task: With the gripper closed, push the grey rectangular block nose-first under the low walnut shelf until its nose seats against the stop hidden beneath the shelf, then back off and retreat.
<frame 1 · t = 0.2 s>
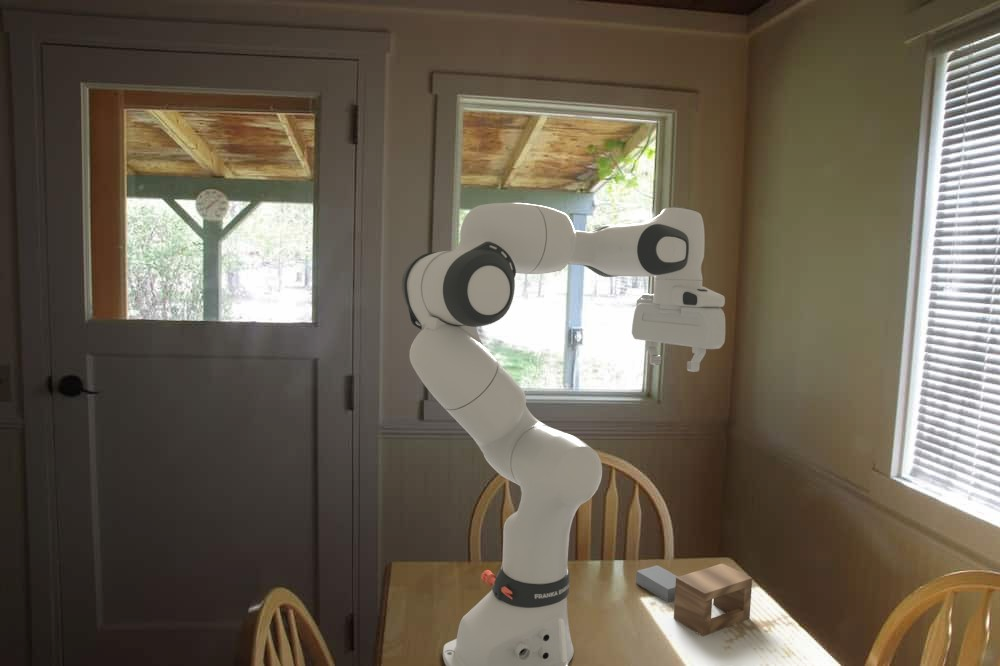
hand: (673, 367, 123), 47 cm above the table, tool pointing down, fingers open, 8 cm apart
shelf: (711, 618, 122), on the table
grey rectangular block: (661, 590, 133), on the table
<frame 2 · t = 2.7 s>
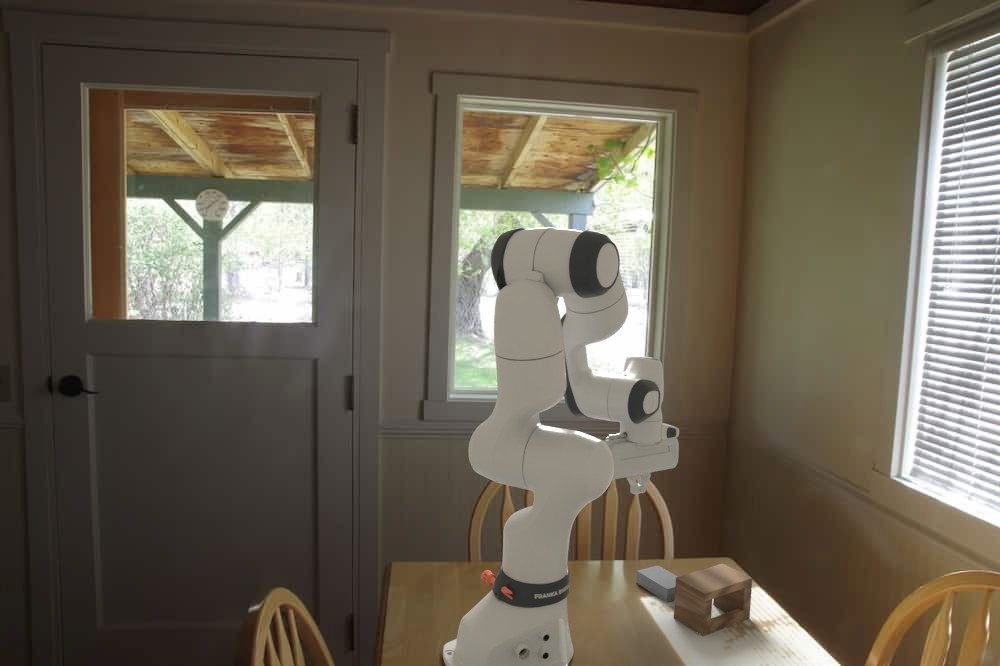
hand: (637, 492, 139), 18 cm above the table, tool pointing down, fingers closed
nothing on the table moved.
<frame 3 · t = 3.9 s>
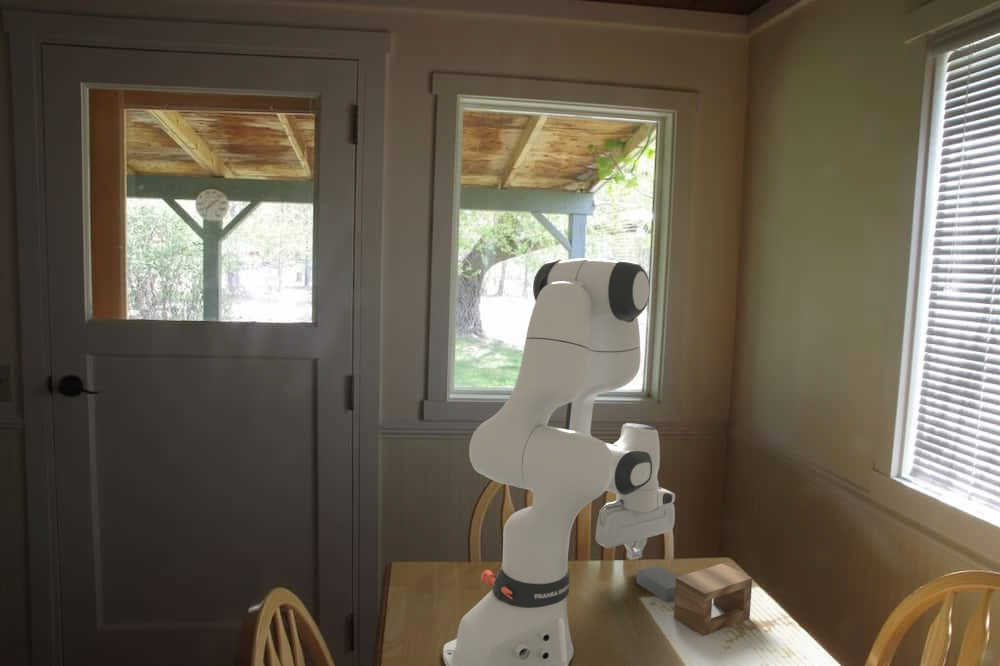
hand: (634, 557, 141), 3 cm above the table, tool pointing down, fingers closed
nothing on the table moved.
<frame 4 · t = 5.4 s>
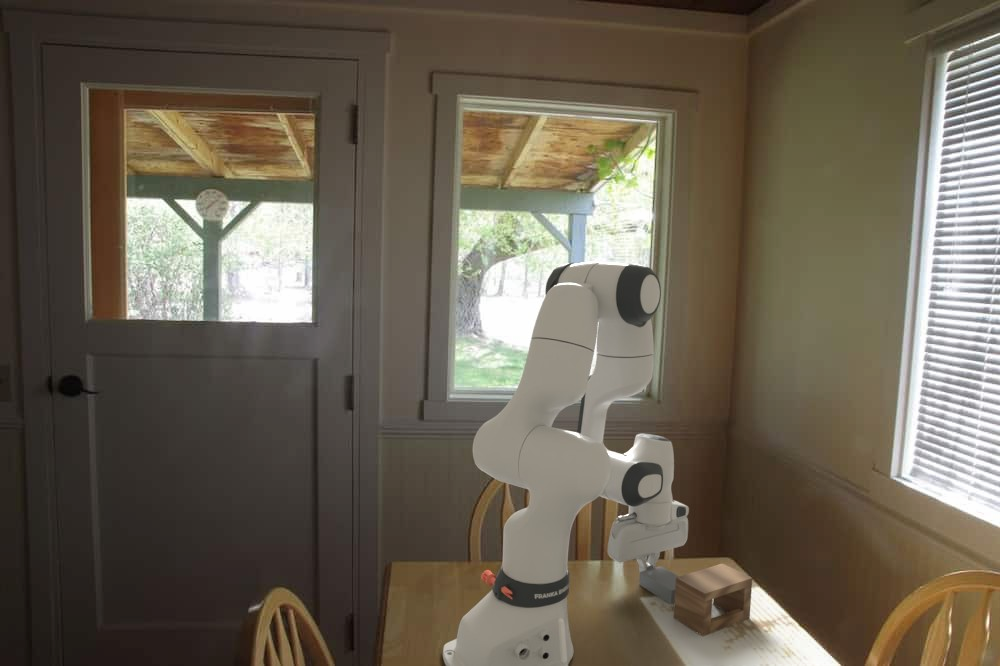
hand: (646, 572, 137), 2 cm above the table, tool pointing down, fingers closed
grey rectangular block: (665, 591, 133), on the table, touching gripper
everything else where it was.
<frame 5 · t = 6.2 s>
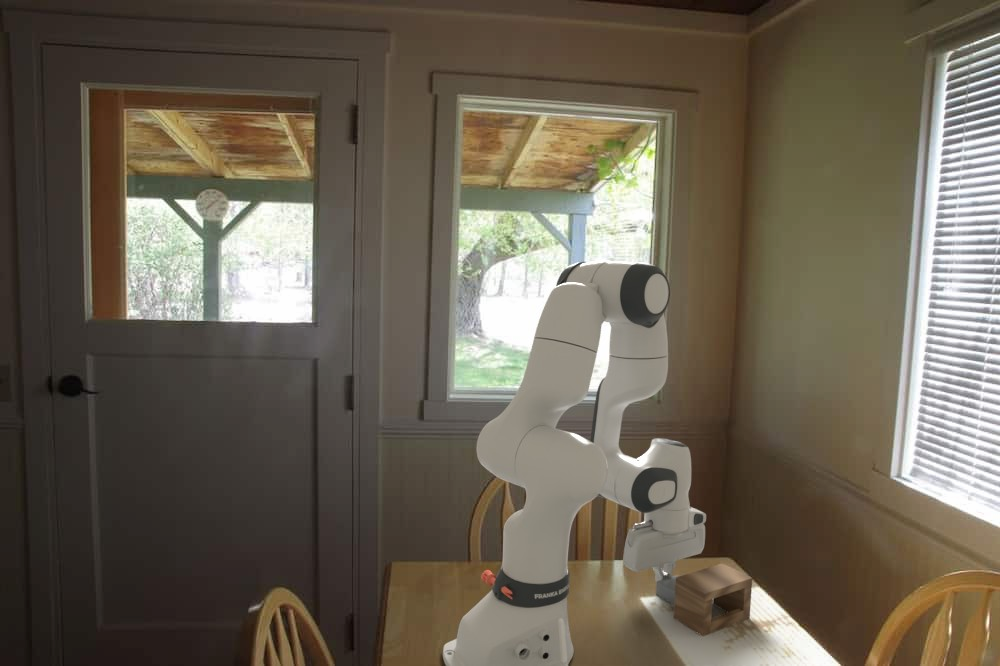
hand: (662, 581, 133), 2 cm above the table, tool pointing down, fingers closed, pressing on grey rectangular block
grey rectangular block: (683, 601, 129), on the table, touching gripper
everything else where it was.
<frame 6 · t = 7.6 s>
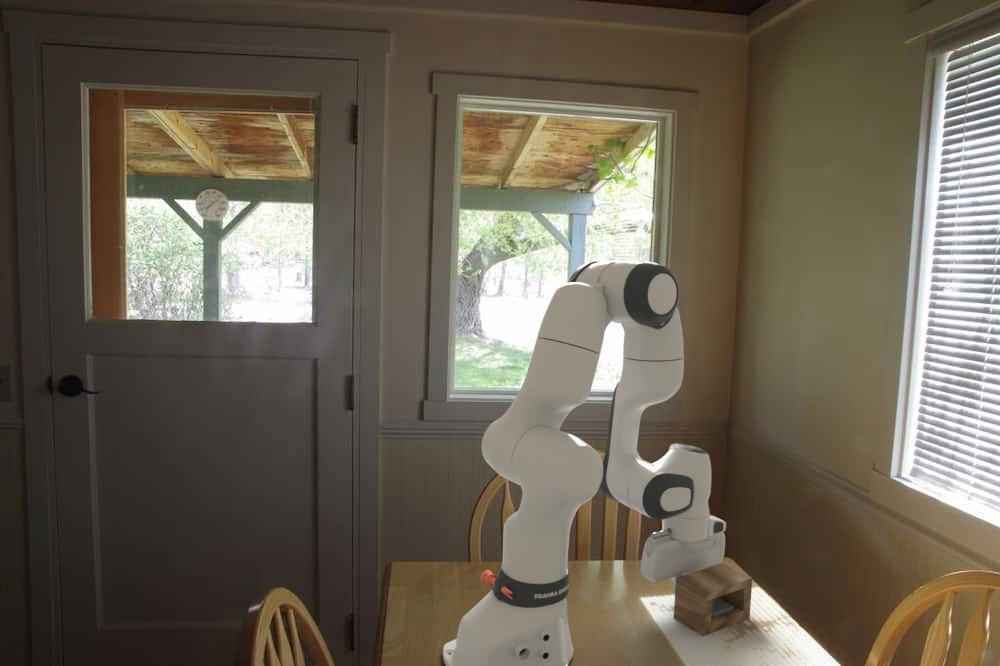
hand: (681, 591, 129), 2 cm above the table, tool pointing down, fingers closed
grey rectangular block: (703, 614, 125), on the table
everything else where it was.
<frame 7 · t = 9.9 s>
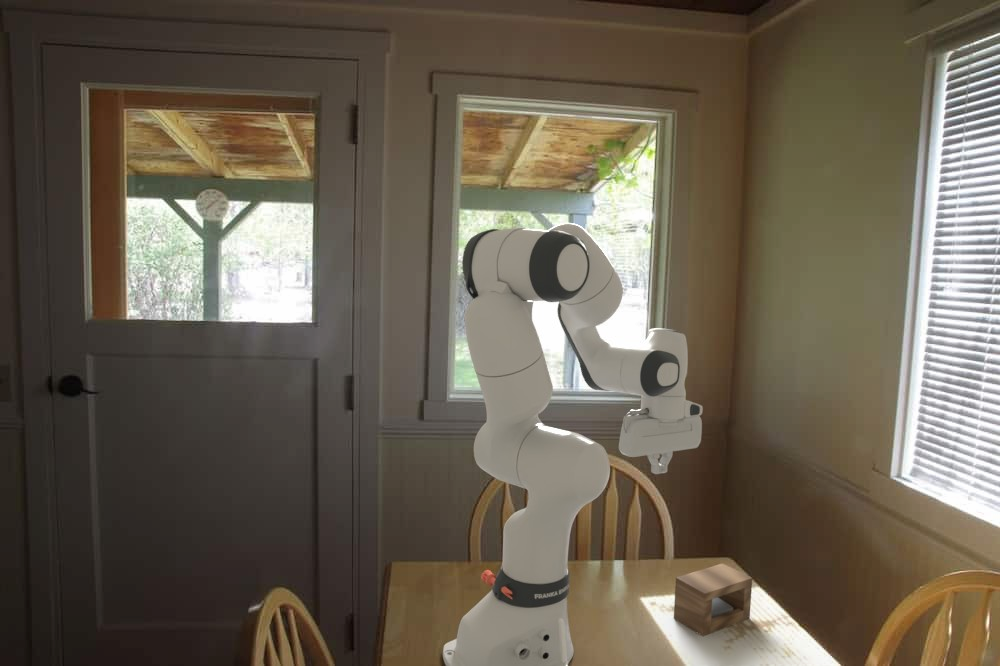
hand: (659, 472, 133), 24 cm above the table, tool pointing down, fingers closed
nothing on the table moved.
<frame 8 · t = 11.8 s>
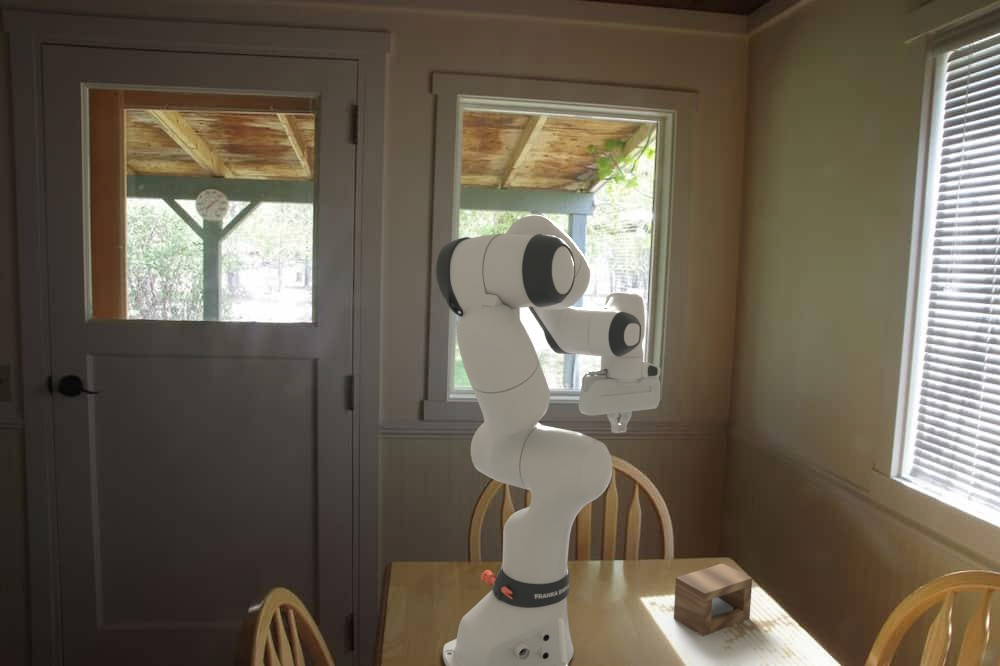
hand: (618, 432, 138), 31 cm above the table, tool pointing down, fingers closed
nothing on the table moved.
at the end: grey rectangular block 0.6 cm from the target spot on the shelf, point 0.0 cm above the shelf's base; grey rectangular block tilted 0° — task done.
